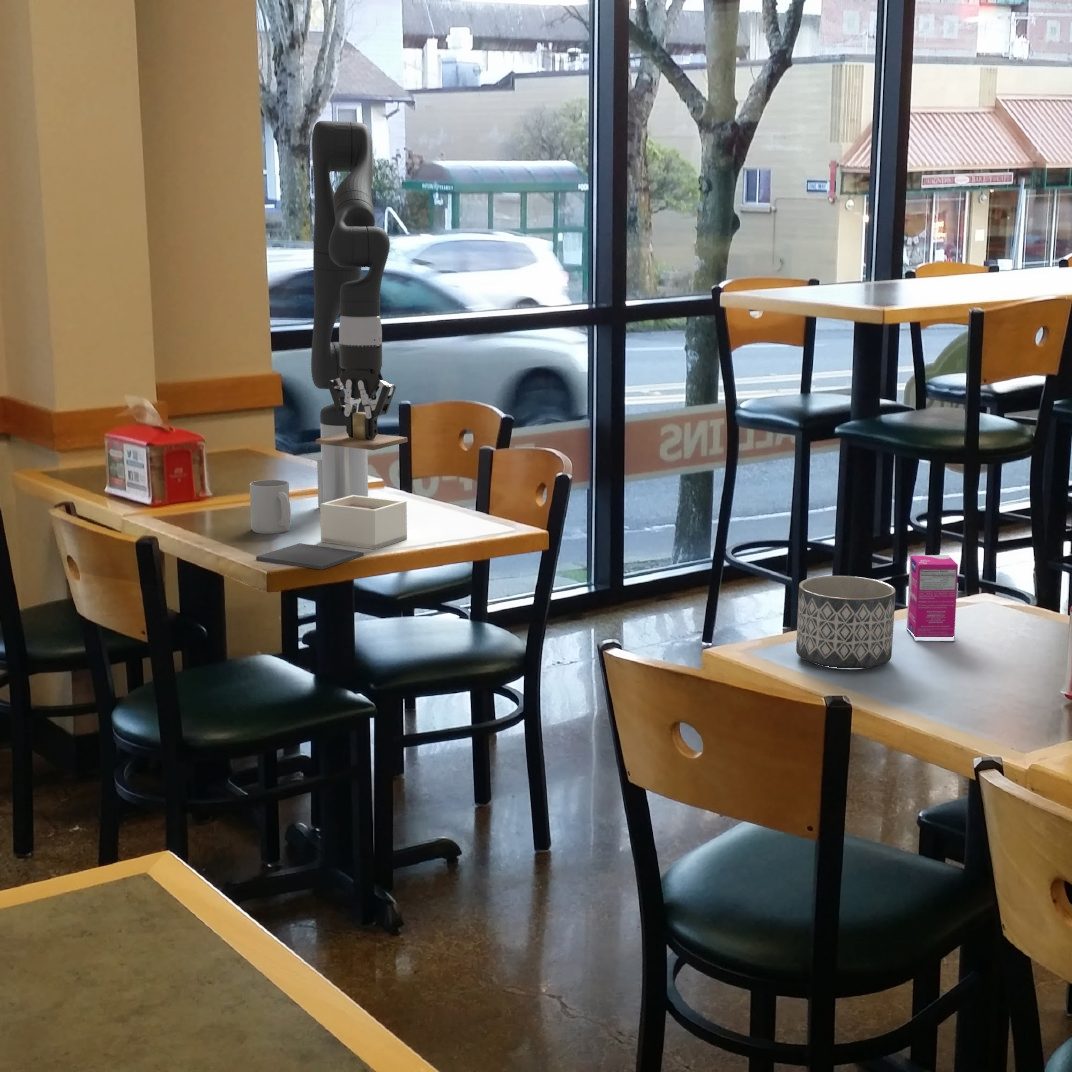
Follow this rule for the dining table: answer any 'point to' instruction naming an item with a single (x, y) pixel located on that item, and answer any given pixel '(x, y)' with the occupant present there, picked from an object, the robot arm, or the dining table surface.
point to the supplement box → (932, 595)
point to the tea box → (363, 521)
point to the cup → (270, 506)
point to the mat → (310, 556)
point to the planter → (845, 621)
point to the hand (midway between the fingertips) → (362, 437)
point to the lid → (361, 437)
